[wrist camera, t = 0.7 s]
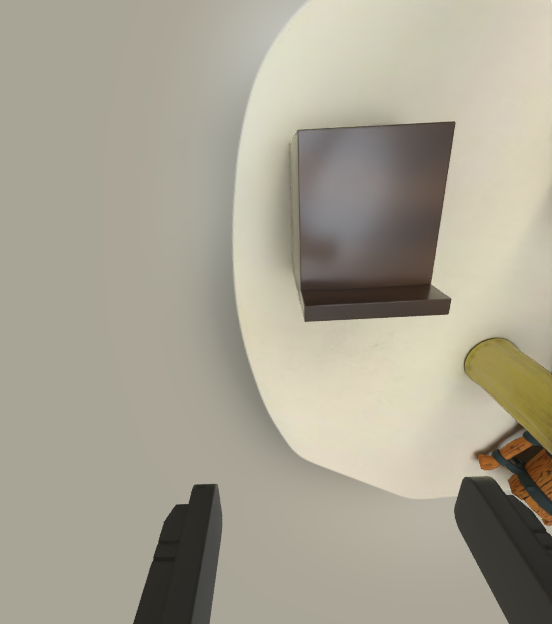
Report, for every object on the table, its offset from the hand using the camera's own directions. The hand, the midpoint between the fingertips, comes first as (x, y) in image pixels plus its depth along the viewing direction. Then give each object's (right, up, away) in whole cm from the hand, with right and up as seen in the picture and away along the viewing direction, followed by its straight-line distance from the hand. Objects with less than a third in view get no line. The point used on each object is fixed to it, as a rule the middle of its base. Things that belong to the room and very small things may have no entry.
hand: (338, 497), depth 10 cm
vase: (+23, 0, +27) cm, 36 cm away
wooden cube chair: (+4, +16, +20) cm, 26 cm away
